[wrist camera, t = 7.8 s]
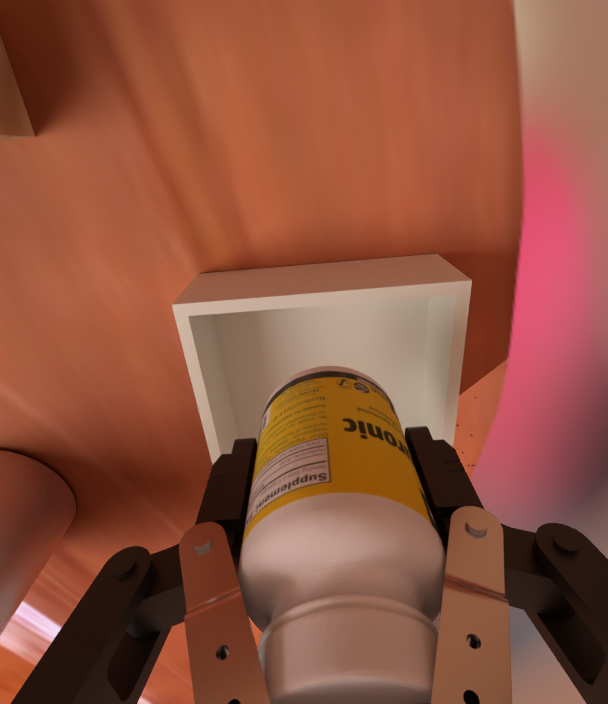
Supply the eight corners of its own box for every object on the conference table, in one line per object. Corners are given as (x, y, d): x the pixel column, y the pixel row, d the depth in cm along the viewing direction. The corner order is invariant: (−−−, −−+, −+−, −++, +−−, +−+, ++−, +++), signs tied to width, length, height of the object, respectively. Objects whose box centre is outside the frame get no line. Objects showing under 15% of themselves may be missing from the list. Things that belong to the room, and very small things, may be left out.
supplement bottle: (417, 431, 16) (544, 751, 8) (310, 484, 18) (315, 803, 9) (350, 334, 14) (419, 622, 6) (235, 403, 16) (149, 717, 7)
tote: (420, 484, 29) (441, 544, 25) (245, 494, 30) (235, 555, 25) (437, 253, 21) (472, 280, 17) (198, 273, 22) (171, 304, 17)
